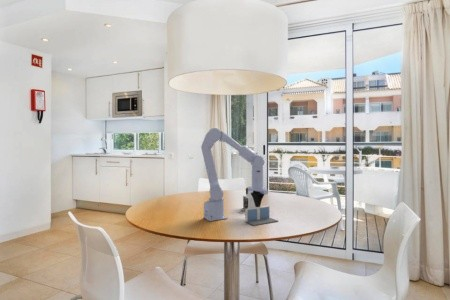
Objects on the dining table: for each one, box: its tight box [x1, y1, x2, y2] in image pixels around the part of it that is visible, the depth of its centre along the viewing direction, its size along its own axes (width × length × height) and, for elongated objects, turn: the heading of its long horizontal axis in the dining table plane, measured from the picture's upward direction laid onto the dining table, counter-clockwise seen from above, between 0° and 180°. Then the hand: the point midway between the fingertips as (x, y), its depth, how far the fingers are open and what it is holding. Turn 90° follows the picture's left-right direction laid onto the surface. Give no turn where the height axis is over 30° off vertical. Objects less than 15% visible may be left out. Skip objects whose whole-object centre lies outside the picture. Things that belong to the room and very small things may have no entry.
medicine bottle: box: [242, 187, 257, 210], centre depth 160 cm, size 7×7×12 cm
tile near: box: [244, 207, 258, 223], centre depth 135 cm, size 6×2×6 cm, turn 119°
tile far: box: [257, 205, 271, 220], centre depth 138 cm, size 6×2×6 cm, turn 119°
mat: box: [245, 217, 279, 227], centre depth 132 cm, size 14×6×1 cm, turn 119°
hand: (257, 206), depth 142 cm, fingers closed
